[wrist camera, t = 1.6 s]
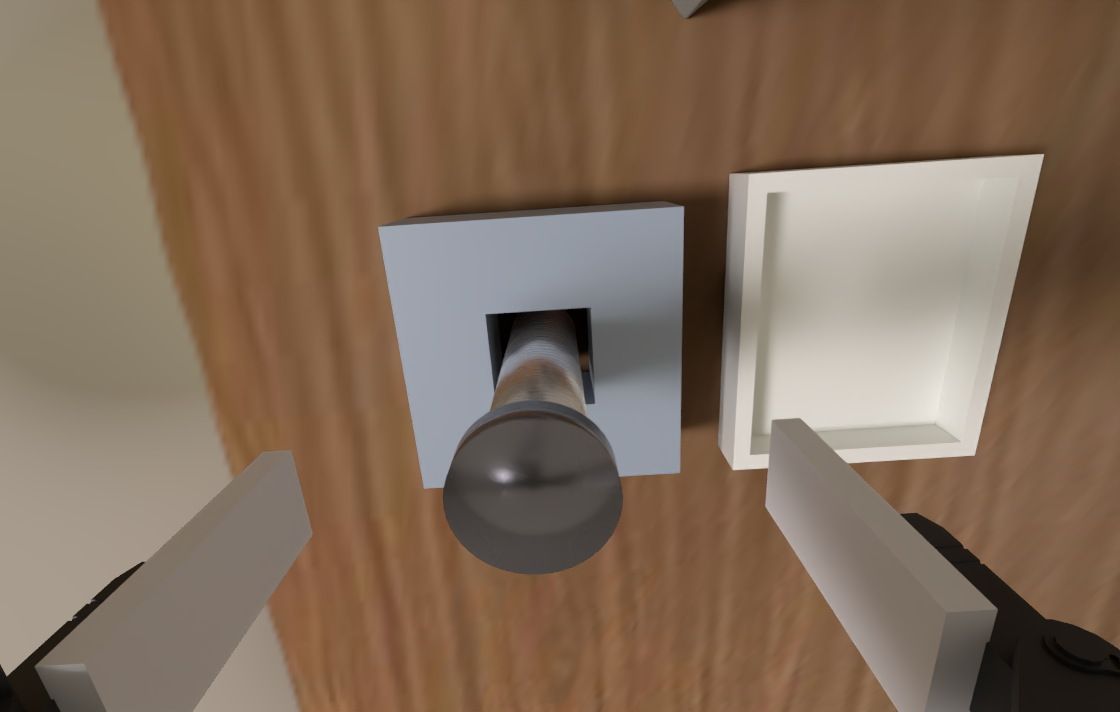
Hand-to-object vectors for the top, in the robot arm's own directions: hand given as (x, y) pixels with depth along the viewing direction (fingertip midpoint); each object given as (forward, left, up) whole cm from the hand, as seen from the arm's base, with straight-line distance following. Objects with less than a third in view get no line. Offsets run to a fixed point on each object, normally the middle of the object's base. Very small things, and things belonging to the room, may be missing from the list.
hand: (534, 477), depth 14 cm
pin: (0, 0, -13) cm, 13 cm away
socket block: (0, 0, -13) cm, 13 cm away
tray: (0, +15, -13) cm, 20 cm away
